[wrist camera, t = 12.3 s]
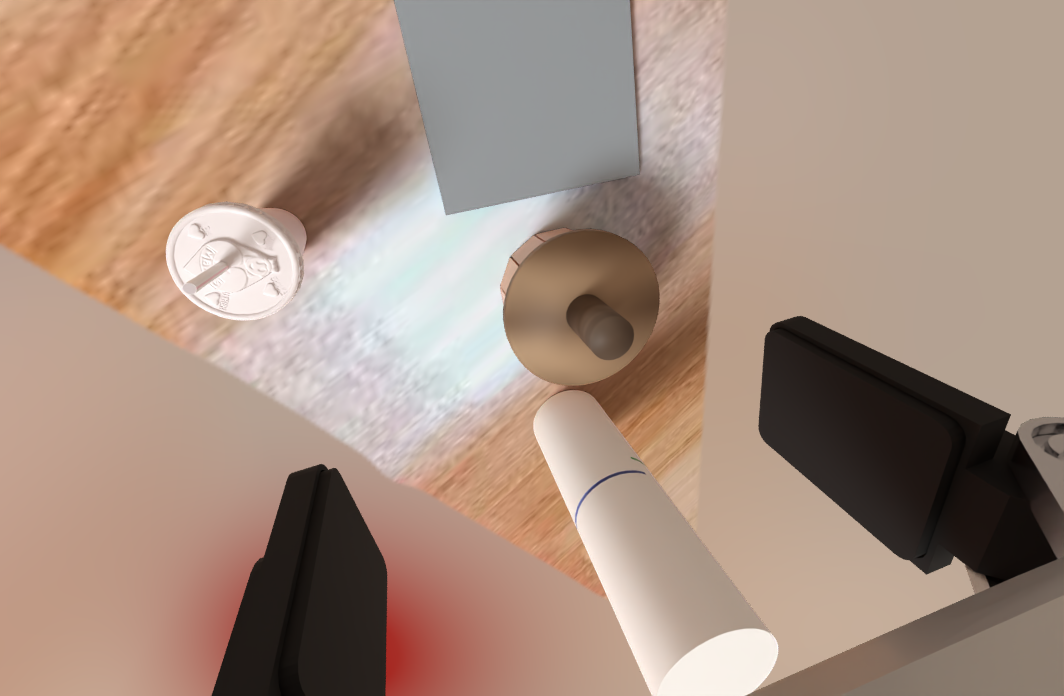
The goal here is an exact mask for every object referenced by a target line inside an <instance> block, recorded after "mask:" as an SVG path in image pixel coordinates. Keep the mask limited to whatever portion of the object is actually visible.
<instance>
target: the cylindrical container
mask: <svg viewBox="0 0 1064 696" xmlns="http://www.w3.org/2000/svg"><path fill="white" fill-rule="evenodd" d="M534 433H535V436H536V439H537V441H538V443H539V445H540V447H541V450H542V452H543V454H544V456H545V459H546V461H547V463H548V465H549V467H550V470H551V472H552V474H553V476H554V479H555V481H556V483H557V485H558V487H559V490H560V492H561V494H562V496H563V499H564V501H565V503H566V505H567V508H568V510H569V512H570V514H571V516H572V519H573V521H574V523H575V525H576V528H577V529H578V532H579V534H580V536H581V539H582V541H583V543H584V545H585V548H586V550H587V552H588V554H589V556H590V559H591V561H592V563H593V565H594V568H595V570H596V572H597V574H598V576H599V579H600V581H601V583H602V585H603V588H604V590H605V592H606V594H607V596H608V599H609V601H610V603H611V605H612V608H613V610H614V612H615V614H616V616H617V618H618V621H619V623H620V625H621V628H622V630H623V632H624V634H625V637H626V639H627V641H628V643H629V645H630V648H631V650H632V652H633V654H634V657H635V659H636V661H637V663H638V665H639V668H640V670H641V672H642V674H643V677H644V679H645V681H646V683H647V686H648V688H649V690H650V692H651V694H652V696H745V695H748V694H750V693H752V692H753V691H754V690H755V689H756V688H757V687H758V686H759V685H760V684H761V683H762V682H763V681H764V680H765V679H766V677H767V676H768V675H769V673H770V672H771V670H772V668H773V666H774V665H775V663H776V659H777V656H778V644H777V641H776V639H775V638H774V636H773V635H772V634H771V632H770V631H769V630H768V628H767V627H766V626H765V624H764V623H763V622H762V621H761V619H760V618H759V616H758V615H757V614H756V612H755V611H754V610H753V608H752V607H751V606H750V605H749V603H748V602H747V600H746V599H745V598H744V596H743V595H742V594H741V592H740V591H739V590H738V588H737V587H736V586H735V584H734V583H733V582H732V580H731V579H730V578H729V576H728V575H727V574H726V572H725V571H724V570H723V568H722V567H721V566H720V564H719V563H718V562H717V560H716V559H715V558H714V556H713V555H712V554H711V552H710V551H709V550H708V548H707V547H706V546H705V544H704V543H703V542H702V540H701V539H700V538H699V536H698V535H697V534H696V532H695V531H694V530H693V528H692V527H691V526H690V524H689V523H688V522H687V520H686V519H685V518H684V516H683V515H682V514H681V512H680V511H679V510H678V508H677V507H676V506H675V504H674V503H673V502H672V500H671V499H670V498H669V496H668V495H667V494H666V492H665V491H664V490H663V488H662V487H661V486H660V484H659V483H658V482H657V480H656V479H655V478H654V476H653V475H652V474H651V472H650V471H649V470H648V468H647V467H646V466H645V464H644V463H643V462H642V460H641V459H640V458H639V456H638V455H637V454H636V452H635V451H634V450H633V448H632V447H631V446H630V444H629V443H628V442H627V440H626V439H625V438H624V436H623V435H622V434H621V432H620V431H619V430H618V428H617V427H616V426H615V424H614V423H613V422H612V420H611V419H610V418H609V416H608V415H607V414H606V412H605V411H604V410H603V408H602V407H601V406H600V404H599V403H598V402H597V401H596V399H595V398H594V397H593V396H591V395H590V394H588V393H586V392H584V391H580V390H568V391H563V392H560V393H557V394H555V395H554V396H552V397H550V398H549V399H548V400H546V401H545V402H544V403H543V404H542V406H541V407H540V408H539V410H538V411H537V413H536V416H535V419H534Z"/></svg>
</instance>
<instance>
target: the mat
mask: <svg viewBox="0 0 1064 696" xmlns="http://www.w3.org/2000/svg"><path fill="white" fill-rule="evenodd" d="M394 2H395V7H396V11H397V15H398V19H399V23H400V27H401V31H402V36H403V40H404V44H405V48H406V52H407V56H408V60H409V64H410V69H411V73H412V77H413V81H414V85H415V89H416V93H417V98H418V102H419V106H420V110H421V114H422V118H423V122H424V127H425V131H426V135H427V139H428V143H429V147H430V151H431V155H432V160H433V164H434V168H435V172H436V176H437V180H438V184H439V189H440V193H441V197H442V201H443V205H444V209H445V213H446V215H450V214H455V213H460V212H464V211H469V210H474V209H479V208H483V207H488V206H493V205H498V204H502V203H507V202H512V201H517V200H521V199H526V198H531V197H536V196H540V195H545V194H550V193H555V192H559V191H564V190H569V189H574V188H579V187H583V186H588V185H593V184H598V183H602V182H607V181H612V180H617V179H621V178H626V177H631V176H636V175H640V171H639V153H638V136H637V118H636V101H635V83H634V66H633V48H632V31H631V13H630V0H394Z"/></svg>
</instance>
